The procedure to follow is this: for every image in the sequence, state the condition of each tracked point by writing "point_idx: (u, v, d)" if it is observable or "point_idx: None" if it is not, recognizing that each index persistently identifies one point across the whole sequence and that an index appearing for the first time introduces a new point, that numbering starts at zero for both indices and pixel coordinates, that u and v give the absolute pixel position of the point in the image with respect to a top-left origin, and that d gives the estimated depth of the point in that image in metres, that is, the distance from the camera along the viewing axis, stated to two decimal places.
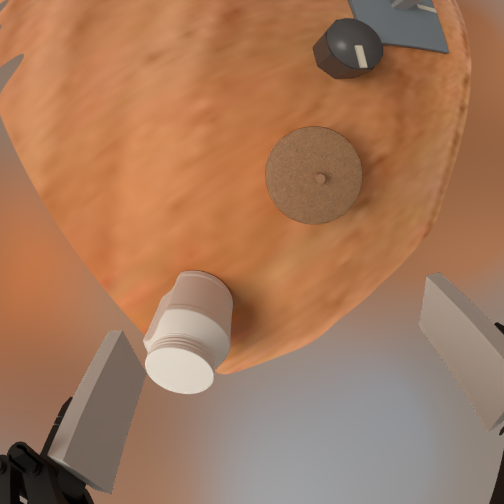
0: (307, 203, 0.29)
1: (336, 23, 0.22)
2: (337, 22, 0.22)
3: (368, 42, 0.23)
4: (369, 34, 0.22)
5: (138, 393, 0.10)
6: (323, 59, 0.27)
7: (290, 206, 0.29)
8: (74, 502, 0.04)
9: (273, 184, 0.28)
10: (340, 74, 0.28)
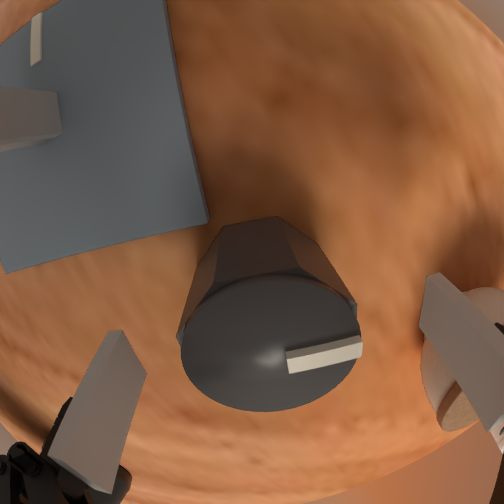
0: None
1: (217, 398, 0.11)
2: (213, 396, 0.11)
3: (264, 330, 0.09)
4: (229, 324, 0.09)
5: (138, 393, 0.10)
6: None
7: None
8: (74, 502, 0.04)
9: None
10: None
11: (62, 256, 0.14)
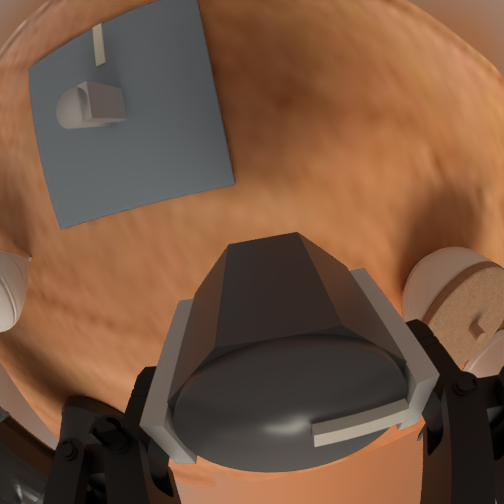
0: (487, 330, 0.17)
1: (222, 462, 0.07)
2: (217, 461, 0.07)
3: (286, 406, 0.06)
4: (237, 401, 0.06)
5: None
6: None
7: (481, 344, 0.18)
8: (154, 482, 0.06)
9: (457, 364, 0.19)
10: None
11: (119, 211, 0.20)
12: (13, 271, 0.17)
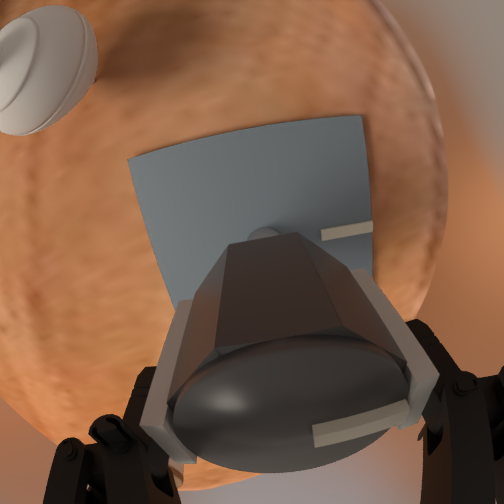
0: None
1: (222, 463, 0.07)
2: (217, 462, 0.07)
3: (286, 407, 0.06)
4: (237, 402, 0.06)
5: None
6: None
7: None
8: (154, 482, 0.06)
9: None
10: None
11: (154, 249, 0.20)
12: None
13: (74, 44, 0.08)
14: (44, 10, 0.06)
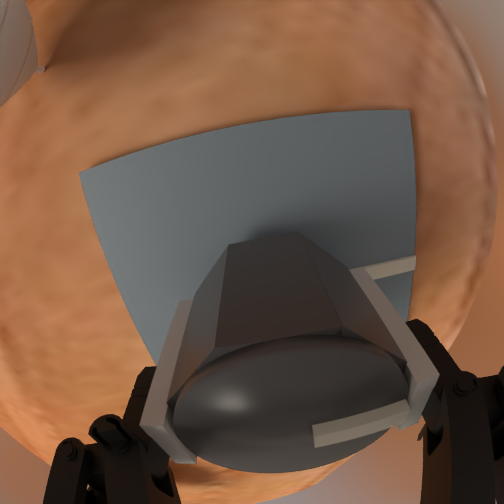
0: None
1: (222, 463, 0.07)
2: (217, 462, 0.07)
3: (286, 407, 0.06)
4: (237, 402, 0.06)
5: None
6: None
7: None
8: (154, 482, 0.06)
9: None
10: None
11: (121, 294, 0.14)
12: None
13: None
14: None
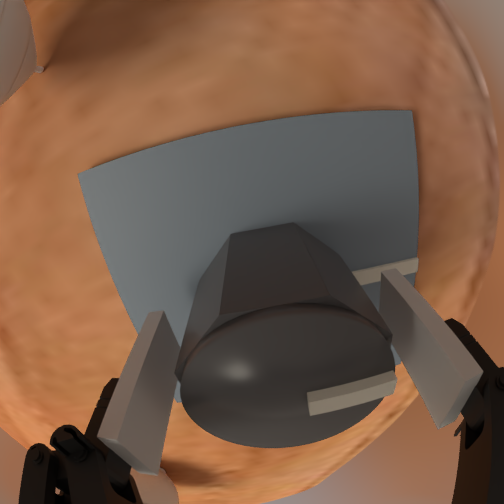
0: None
1: (224, 436, 0.09)
2: (219, 434, 0.08)
3: (283, 372, 0.07)
4: (239, 366, 0.07)
5: None
6: None
7: None
8: (117, 489, 0.05)
9: None
10: None
11: (121, 296, 0.14)
12: None
13: None
14: None
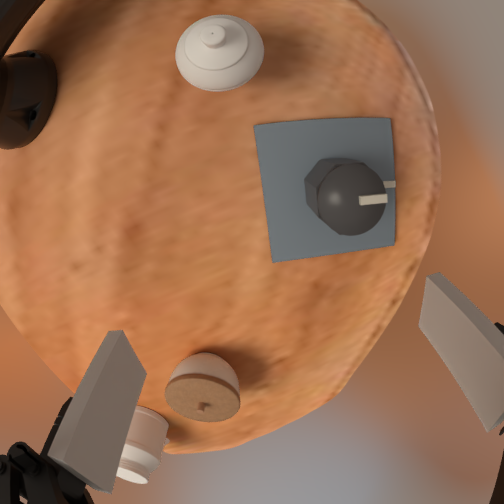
0: (197, 414, 0.35)
1: (328, 222, 0.25)
2: (327, 221, 0.25)
3: (352, 183, 0.24)
4: (340, 179, 0.23)
5: (138, 393, 0.10)
6: None
7: (185, 413, 0.36)
8: (74, 502, 0.04)
9: (170, 403, 0.35)
10: None
11: (263, 185, 0.30)
12: None
13: (262, 50, 0.19)
14: (241, 21, 0.17)
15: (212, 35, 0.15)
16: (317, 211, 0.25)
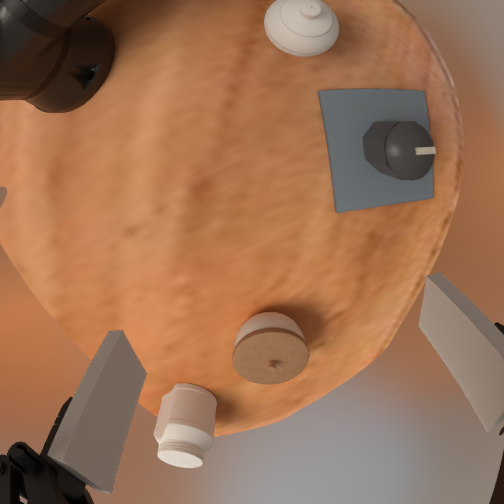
0: (264, 375, 0.38)
1: (394, 168, 0.27)
2: (393, 167, 0.27)
3: (410, 137, 0.25)
4: (401, 133, 0.25)
5: (138, 393, 0.10)
6: None
7: (251, 377, 0.38)
8: (74, 502, 0.04)
9: (237, 366, 0.37)
10: None
11: (329, 142, 0.32)
12: None
13: (338, 26, 0.20)
14: (323, 2, 0.18)
15: (311, 8, 0.16)
16: (384, 159, 0.27)
